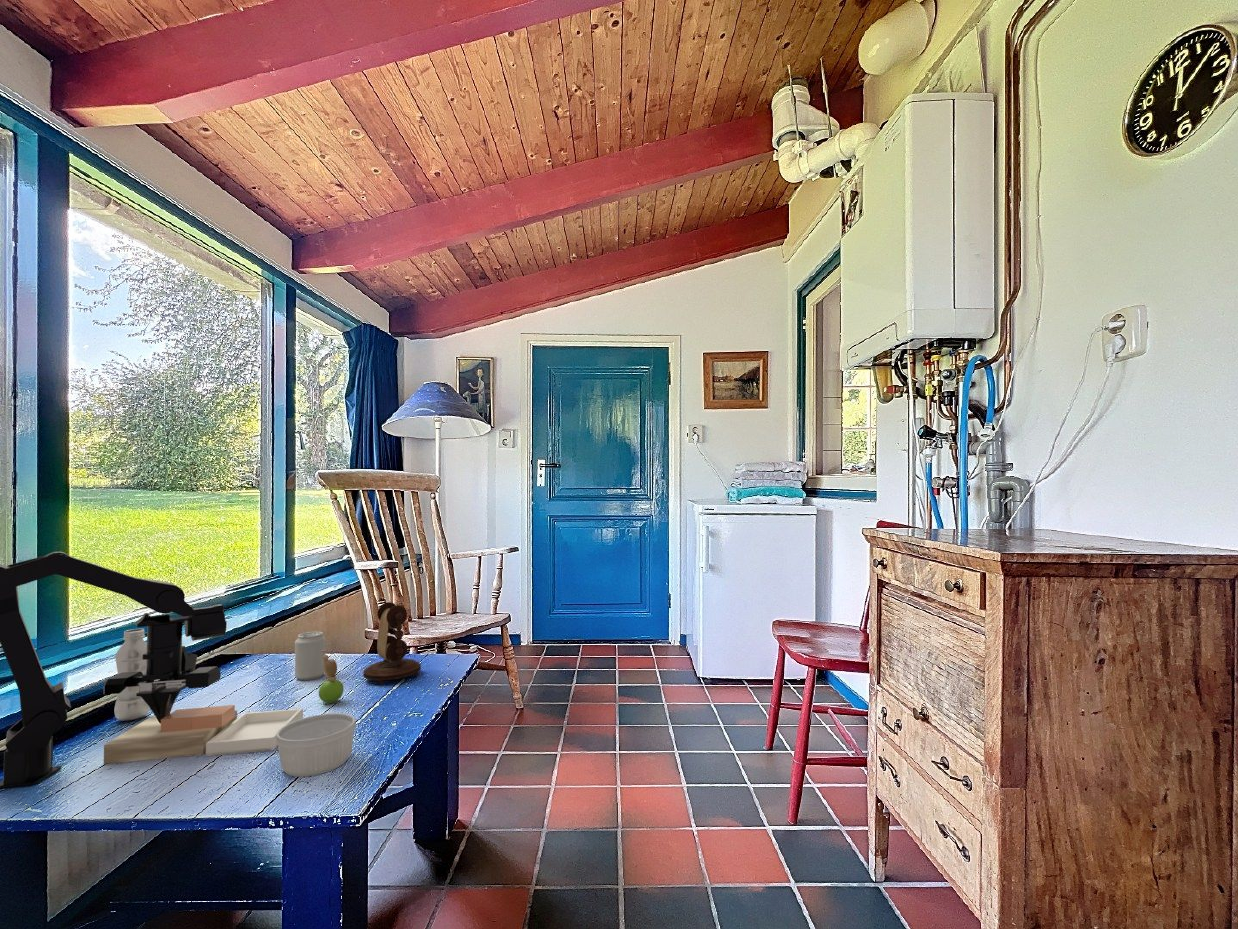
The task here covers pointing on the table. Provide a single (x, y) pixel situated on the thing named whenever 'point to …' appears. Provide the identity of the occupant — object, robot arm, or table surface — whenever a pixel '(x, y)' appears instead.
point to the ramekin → (315, 744)
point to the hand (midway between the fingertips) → (163, 722)
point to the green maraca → (330, 682)
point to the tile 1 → (179, 720)
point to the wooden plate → (158, 742)
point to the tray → (252, 732)
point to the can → (309, 655)
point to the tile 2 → (213, 717)
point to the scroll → (391, 647)
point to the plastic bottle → (131, 661)
